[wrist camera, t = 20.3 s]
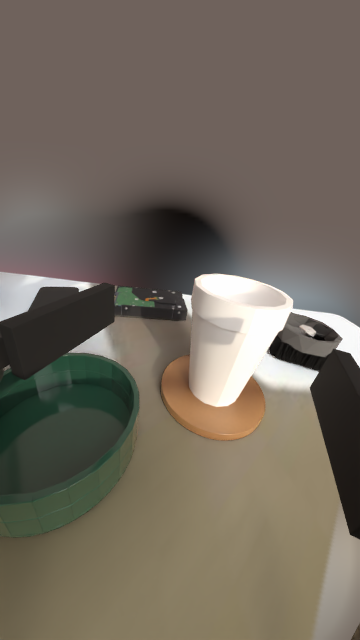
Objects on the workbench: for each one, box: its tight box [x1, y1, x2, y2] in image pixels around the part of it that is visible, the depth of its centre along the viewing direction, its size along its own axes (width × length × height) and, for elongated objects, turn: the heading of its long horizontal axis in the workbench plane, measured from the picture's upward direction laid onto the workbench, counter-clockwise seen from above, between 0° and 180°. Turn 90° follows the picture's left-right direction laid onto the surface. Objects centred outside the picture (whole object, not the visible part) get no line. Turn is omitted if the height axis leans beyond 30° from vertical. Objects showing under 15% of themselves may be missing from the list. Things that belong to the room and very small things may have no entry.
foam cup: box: [189, 274, 293, 407], centre depth 23 cm, size 10×9×13 cm
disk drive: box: [114, 286, 187, 320], centre depth 45 cm, size 10×3×15 cm
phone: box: [28, 287, 79, 311], centre depth 40 cm, size 7×1×15 cm
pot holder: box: [161, 355, 265, 440], centre depth 27 cm, size 13×13×1 cm
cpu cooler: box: [270, 312, 342, 371], centre depth 37 cm, size 10×6×10 cm
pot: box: [0, 353, 139, 538], centre depth 18 cm, size 13×13×4 cm
